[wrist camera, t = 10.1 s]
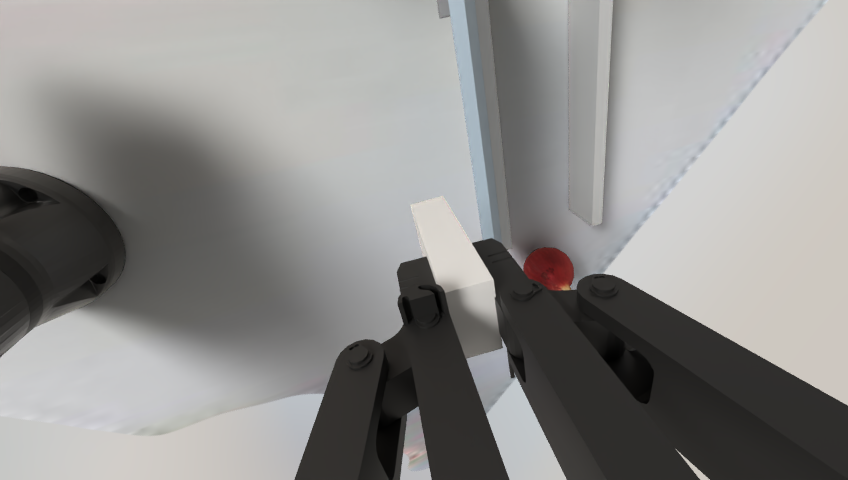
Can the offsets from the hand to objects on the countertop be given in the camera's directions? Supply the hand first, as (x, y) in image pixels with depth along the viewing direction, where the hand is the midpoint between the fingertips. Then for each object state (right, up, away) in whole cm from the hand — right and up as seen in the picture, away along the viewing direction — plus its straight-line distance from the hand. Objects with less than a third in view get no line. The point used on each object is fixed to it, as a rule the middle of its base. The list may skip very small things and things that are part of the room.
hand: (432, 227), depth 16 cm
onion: (+14, -3, +31) cm, 35 cm away
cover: (+5, +11, +16) cm, 20 cm away
